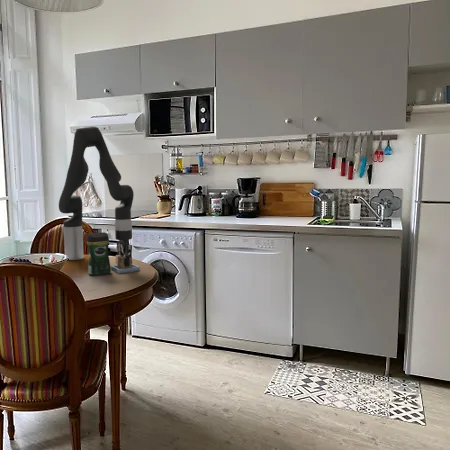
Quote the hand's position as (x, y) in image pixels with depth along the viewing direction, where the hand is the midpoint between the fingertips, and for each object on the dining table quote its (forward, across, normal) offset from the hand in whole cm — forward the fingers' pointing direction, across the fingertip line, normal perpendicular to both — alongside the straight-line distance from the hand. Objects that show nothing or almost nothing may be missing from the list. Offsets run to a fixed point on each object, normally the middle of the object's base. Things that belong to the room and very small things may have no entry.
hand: (124, 265), depth 198 cm
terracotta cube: (+3, -16, +4) cm, 17 cm away
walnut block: (+2, 0, 0) cm, 2 cm away
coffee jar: (+3, 0, -12) cm, 12 cm away
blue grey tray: (+2, 0, 0) cm, 2 cm away
